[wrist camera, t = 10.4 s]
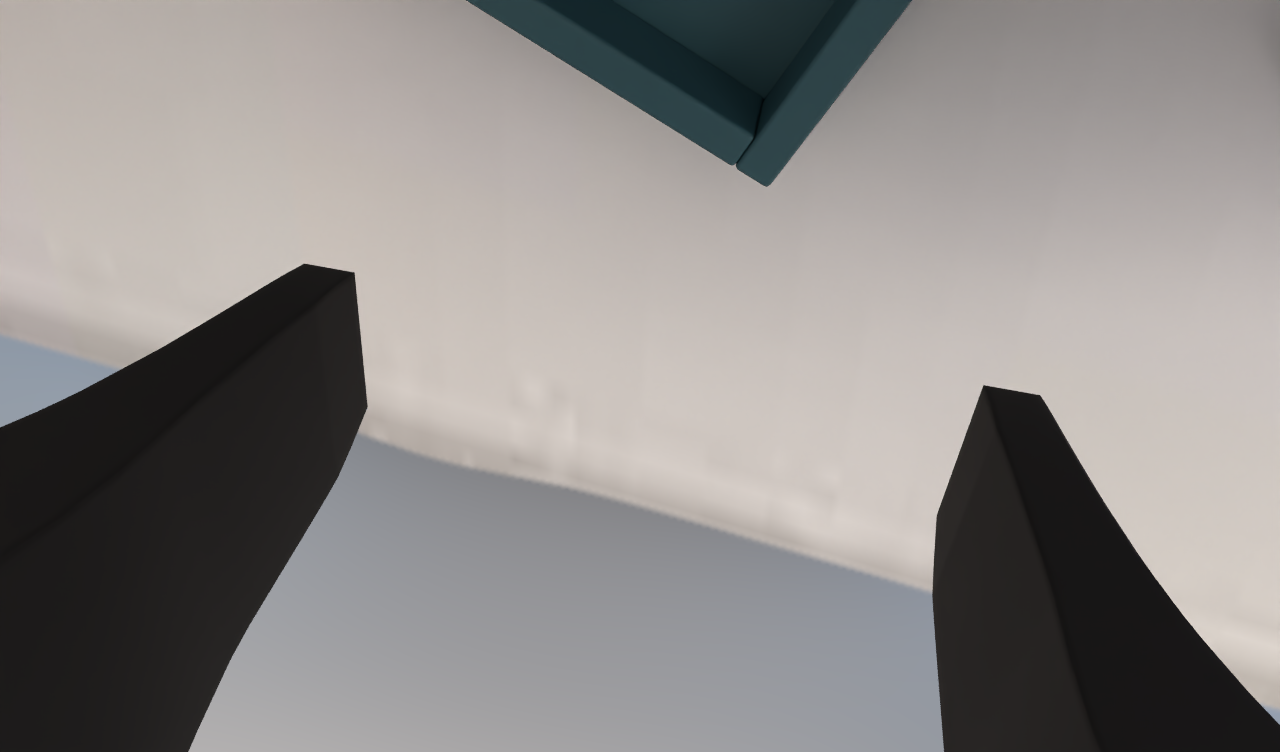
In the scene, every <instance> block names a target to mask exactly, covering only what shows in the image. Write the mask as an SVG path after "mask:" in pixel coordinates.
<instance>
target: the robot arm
mask: <svg viewBox="0 0 1280 752" xmlns="http://www.w3.org/2000/svg"><path fill="white" fill-rule="evenodd" d="M366 409H367V397H366V386H365V376H364V366H363V356H362V345H361V335H360V325H359V314H358V304H357V294H356V284H355V273H354V272H348V271H342V270H337V269H331V268H326V267H320V266H315V265H309V264H303V265H301V266H299V267H297V268H296V269H294V270H292V271H290V272H288V273H286V274H285V275H283V276H281V277H279V278H278V279H276V280H274V281H273V282H271V283H269V284H268V285H266V286H264V287H263V288H261V289H259V290H258V291H256V292H254V293H253V294H251V295H249V296H248V297H246V298H245V299H243V300H241V301H240V302H238V303H236V304H235V305H233V306H231V307H230V308H228V309H226V310H225V311H223V312H221V313H220V314H218V315H216V316H215V317H213V318H211V319H210V320H208V321H206V322H205V323H203V324H201V325H200V326H198V327H196V328H194V329H193V330H191V331H189V332H188V333H186V334H184V335H183V336H181V337H179V338H178V339H176V340H174V341H172V342H171V343H169V344H167V345H166V346H164V347H162V348H160V349H159V350H157V351H155V352H153V353H151V354H149V355H147V356H146V357H144V358H142V359H140V360H138V361H136V362H134V363H132V364H131V365H129V366H127V367H125V368H123V369H121V370H119V371H117V372H116V373H114V374H112V375H110V376H108V377H106V378H104V379H103V380H101V381H99V382H97V383H95V384H93V385H91V386H89V387H88V388H86V389H84V390H82V391H80V392H78V393H76V394H74V395H72V396H69V397H67V398H66V399H63V400H61V401H59V402H57V403H55V404H53V405H51V406H48V407H46V408H45V409H42V410H40V411H38V412H35V413H33V414H31V415H29V416H26V417H24V418H22V419H19V420H17V421H15V422H12V423H10V424H8V425H5V426H3V427H0V752H188V751H189V749H190V746H191V744H192V742H193V740H194V737H195V735H196V733H197V730H198V728H199V726H200V724H201V722H202V720H203V718H204V715H205V713H206V711H207V709H208V707H209V705H210V702H211V700H212V698H213V696H214V694H215V692H216V689H217V687H218V685H219V683H220V681H221V679H222V677H223V674H224V672H225V670H226V668H227V666H228V664H229V661H230V660H231V658H232V656H233V654H234V652H235V650H236V648H237V646H238V645H239V643H240V641H241V639H242V637H243V635H244V634H245V632H246V630H247V628H248V627H249V625H250V623H251V622H252V620H253V618H254V617H255V615H256V613H257V612H258V610H259V608H260V607H261V605H262V603H263V601H264V600H265V598H266V597H267V595H268V593H269V592H270V590H271V588H272V587H273V585H274V584H275V582H276V580H277V578H278V577H279V575H280V573H281V572H282V570H283V569H284V567H285V565H286V564H287V562H288V560H289V558H290V557H291V555H292V554H293V552H294V550H295V549H296V547H297V546H298V544H299V542H300V541H301V539H302V537H303V536H304V534H305V532H306V531H307V529H308V527H309V526H310V524H311V522H312V521H313V519H314V517H315V515H316V514H317V512H318V510H319V509H320V507H321V505H322V504H323V502H324V500H325V499H326V497H327V495H328V494H329V492H330V490H331V488H332V487H333V485H334V483H335V481H336V480H337V478H338V476H339V473H340V471H341V469H342V467H343V464H344V462H345V460H346V457H347V455H348V453H349V451H350V449H351V446H352V444H353V441H354V439H355V436H356V434H357V431H358V429H359V427H360V424H361V422H362V419H363V417H364V414H365V412H366ZM932 596H933V612H934V626H935V640H936V653H937V665H938V666H937V667H938V679H939V692H940V703H941V704H940V705H941V716H942V730H943V743H944V752H1280V725H1279V724H1278V723H1277V722H1276V721H1275V720H1274V719H1273V718H1272V716H1271V715H1270V714H1269V713H1268V712H1267V711H1266V710H1265V709H1264V708H1263V707H1262V706H1261V705H1260V704H1259V703H1258V702H1257V701H1256V700H1255V698H1254V697H1253V696H1252V695H1251V694H1250V693H1249V692H1248V691H1247V690H1246V689H1245V688H1244V686H1243V685H1242V684H1241V683H1240V682H1239V681H1238V680H1237V678H1236V677H1235V676H1234V675H1233V674H1232V673H1231V672H1230V670H1229V669H1228V668H1227V667H1226V666H1225V665H1224V664H1223V662H1222V661H1221V660H1220V659H1219V658H1218V657H1217V656H1216V654H1215V653H1214V652H1213V651H1212V650H1211V649H1210V647H1209V646H1208V645H1207V644H1206V643H1205V642H1204V641H1203V639H1202V638H1201V637H1200V636H1199V634H1198V633H1197V632H1196V631H1195V630H1194V628H1193V627H1192V626H1191V625H1190V623H1189V622H1188V621H1187V620H1186V618H1185V617H1184V616H1183V615H1182V613H1181V612H1180V611H1179V609H1178V608H1177V607H1176V605H1175V604H1174V603H1173V601H1172V600H1171V599H1170V597H1169V596H1168V595H1167V593H1166V592H1165V591H1164V589H1163V588H1162V587H1161V585H1160V584H1159V583H1158V581H1157V580H1156V579H1155V577H1154V576H1153V575H1152V573H1151V572H1150V570H1149V569H1148V567H1147V566H1146V565H1145V563H1144V562H1143V560H1142V559H1141V557H1140V556H1139V554H1138V553H1137V552H1136V550H1135V549H1134V547H1133V546H1132V544H1131V542H1130V541H1129V539H1128V538H1127V536H1126V535H1125V533H1124V532H1123V530H1122V529H1121V527H1120V526H1119V524H1118V523H1117V521H1116V520H1115V518H1114V517H1113V515H1112V514H1111V512H1110V510H1109V509H1108V507H1107V506H1106V504H1105V503H1104V501H1103V499H1102V498H1101V496H1100V495H1099V493H1098V491H1097V490H1096V488H1095V487H1094V485H1093V483H1092V482H1091V480H1090V478H1089V477H1088V475H1087V473H1086V472H1085V470H1084V468H1083V467H1082V465H1081V463H1080V462H1079V460H1078V458H1077V456H1076V455H1075V453H1074V451H1073V450H1072V448H1071V446H1070V444H1069V443H1068V441H1067V439H1066V438H1065V436H1064V434H1063V432H1062V431H1061V429H1060V427H1059V425H1058V424H1057V422H1056V420H1055V419H1054V417H1053V415H1052V413H1051V412H1050V410H1049V408H1048V407H1047V405H1046V404H1045V402H1044V400H1043V399H1042V397H1041V396H1040V395H1035V394H1029V393H1024V392H1018V391H1013V390H1007V389H1002V388H996V387H990V386H985V385H984V386H983V388H982V391H981V394H980V397H979V400H978V402H977V405H976V408H975V411H974V413H973V416H972V419H971V422H970V425H969V427H968V430H967V433H966V436H965V439H964V441H963V444H962V447H961V450H960V452H959V455H958V458H957V461H956V464H955V466H954V469H953V472H952V475H951V477H950V480H949V483H948V486H947V489H946V491H945V494H944V497H943V500H942V502H941V505H940V508H939V511H938V514H937V521H936V537H935V553H934V572H933V594H932Z"/></svg>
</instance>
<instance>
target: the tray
mask: <svg viewBox="0 0 1280 752" xmlns="http://www.w3.org/2000/svg"><path fill="white" fill-rule="evenodd" d="M466 1H468V2H470V3H471V4H473V5H474V6H476V7H478V8H479V9H481V10H482V11H484V12H486V13H487V14H489V15H491V16H492V17H494V18H495V19H497V20H499V21H500V22H502V23H503V24H505V25H507V26H508V27H510V28H511V29H513V30H515V31H516V32H518V33H519V34H521V35H523V36H524V37H526V38H527V39H529V40H531V41H532V42H534V43H535V44H537V45H539V46H540V47H542V48H543V49H545V50H547V51H548V52H550V53H551V54H553V55H555V56H556V57H558V58H560V59H561V60H563V61H564V62H566V63H568V64H569V65H571V66H572V67H574V68H576V69H577V70H579V71H580V72H582V73H584V74H585V75H587V76H588V77H590V78H592V79H593V80H595V81H596V82H598V83H600V84H601V85H603V86H604V87H606V88H608V89H609V90H611V91H612V92H614V93H616V94H617V95H619V96H620V97H622V98H624V99H625V100H627V101H629V102H630V103H632V104H633V105H635V106H637V107H638V108H640V109H641V110H643V111H645V112H646V113H648V114H649V115H651V116H653V117H654V118H656V119H657V120H659V121H661V122H662V123H664V124H665V125H667V126H669V127H670V128H672V129H673V130H675V131H677V132H678V133H680V134H681V135H683V136H685V137H686V138H688V139H689V140H691V141H693V142H694V143H696V144H698V145H699V146H701V147H702V148H704V149H706V150H707V151H709V152H710V153H712V154H714V155H715V156H717V157H718V158H720V159H722V160H723V161H725V162H726V163H728V164H730V165H734V164H735V163H736V168H737V169H738V170H739V171H741V172H743V173H744V174H746V175H747V176H749V177H751V178H752V179H754V180H755V181H757V182H759V183H760V184H762V185H763V186H766V187H767V186H769V185H770V184H771V183H772V182H773V181H774V179H775V178H776V177H777V176H778V174H779V173H780V172H781V170H782V169H783V168H784V166H785V165H786V164H787V163H788V161H789V160H790V159H791V157H792V156H793V155H794V153H795V152H796V151H797V150H798V148H799V147H800V146H801V144H802V143H803V142H804V140H805V139H806V138H807V136H808V135H809V134H810V133H811V131H812V130H813V129H814V127H815V126H816V125H817V123H818V122H819V121H820V120H821V118H822V117H823V116H824V114H825V113H826V112H827V110H828V109H829V108H830V107H831V105H832V104H833V103H834V101H835V100H836V99H837V97H838V96H839V95H840V94H841V92H842V91H843V90H844V88H845V87H846V86H847V84H848V83H849V82H850V81H851V79H852V78H853V77H854V75H855V74H856V73H857V71H858V70H859V69H860V68H861V66H862V65H863V64H864V62H865V61H866V60H867V58H868V57H869V56H870V55H871V53H872V52H873V51H874V49H875V48H876V47H877V45H878V44H879V43H880V42H881V40H882V39H883V38H884V36H885V35H886V34H887V32H888V31H889V30H890V29H891V27H892V26H893V25H894V23H895V22H896V21H897V19H898V18H899V17H900V16H901V14H902V13H903V12H904V10H905V9H906V8H907V6H908V5H909V4H910V3H911V1H912V0H466Z"/></svg>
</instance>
